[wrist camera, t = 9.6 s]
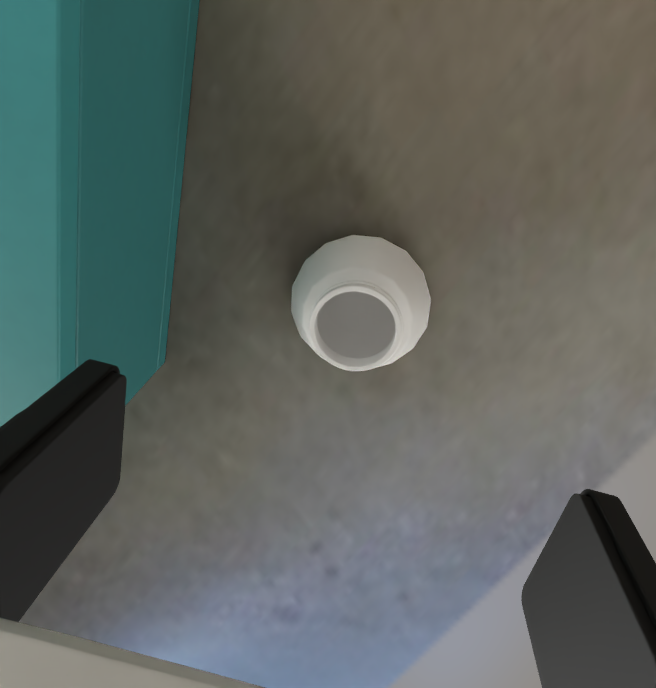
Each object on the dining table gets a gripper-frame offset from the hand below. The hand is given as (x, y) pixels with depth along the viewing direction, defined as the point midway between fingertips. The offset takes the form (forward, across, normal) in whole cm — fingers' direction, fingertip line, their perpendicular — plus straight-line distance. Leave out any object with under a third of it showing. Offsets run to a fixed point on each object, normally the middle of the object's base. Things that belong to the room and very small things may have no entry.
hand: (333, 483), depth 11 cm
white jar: (+10, 0, 0) cm, 10 cm away
